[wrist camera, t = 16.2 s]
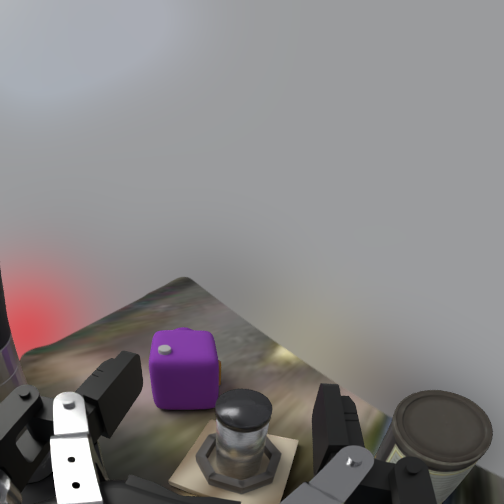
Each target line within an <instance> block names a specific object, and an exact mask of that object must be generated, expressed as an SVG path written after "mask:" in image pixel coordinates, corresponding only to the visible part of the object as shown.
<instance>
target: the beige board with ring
mask: <svg viewBox="0 0 504 504" xmlns="http://www.w3.org/2000/svg"><path fill="white" fill-rule="evenodd" d="M297 444H298V440H294V439H289V438H284V437H279V436H274V435H269V434H267V436H266V442H265V447H264V452H263V458H262V463H261V468H260V470H259V472H258V473H257V474H256V475H254V476H253V477H250V478H247V479H243V480H238V479H234V478H231V477H227V476H225V475H223V474H222V473H221V472H220V471H219V470H218V468H217V466H216V421H215V420H212V419H210V420H209V422H208V423H207V425H206V427H205V428H204V430H203V431H202V433H201V434H200V436H199V437H198V439H197V440H196V442H195V443H194V445H193V446H192V448H191V449H190V450H189V452H188V453H187V455H186V456H185V458H184V459H183V461H182V462H181V464H180V465H179V466H178V468H177V469H176V471H175V472H174V474H173V475H172V476H171V478H170V479H169V484H170V485H171V486H174V487H176V488H179V489H181V490H184V491H186V492H189V493H192V494H194V495H197V496H200V497H217V498H222V499H228V500H234V501H241V504H279V503H280V501H281V498H282V495H283V492H284V489H285V485H286V482H287V479H288V476H289V472H290V469H291V465H292V462H293V458H294V455H295V451H296V448H297Z"/></svg>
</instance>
